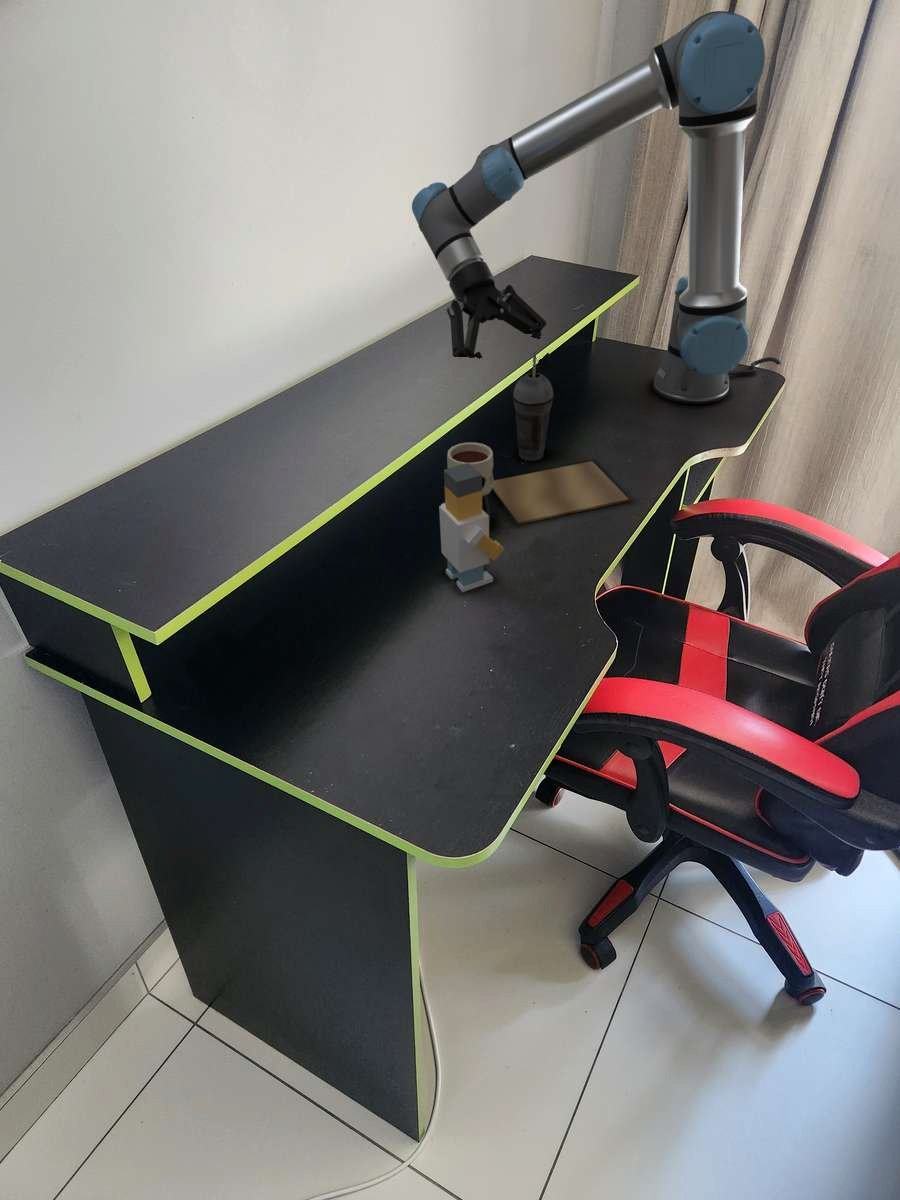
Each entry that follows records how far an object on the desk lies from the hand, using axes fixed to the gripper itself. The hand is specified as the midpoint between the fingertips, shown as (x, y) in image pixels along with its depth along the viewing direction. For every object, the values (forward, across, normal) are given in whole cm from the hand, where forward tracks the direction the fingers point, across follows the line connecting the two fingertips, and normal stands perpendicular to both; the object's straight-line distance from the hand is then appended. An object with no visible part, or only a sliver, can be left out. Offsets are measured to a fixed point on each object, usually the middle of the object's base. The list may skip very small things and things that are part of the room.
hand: (520, 378), depth 138 cm
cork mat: (+21, +6, +2) cm, 22 cm away
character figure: (+28, +32, +8) cm, 44 cm away
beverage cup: (+12, 0, -8) cm, 14 cm away
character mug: (+20, +23, 0) cm, 30 cm away
